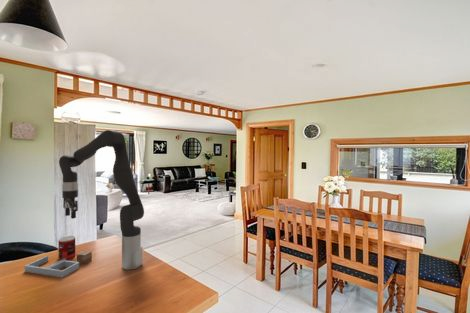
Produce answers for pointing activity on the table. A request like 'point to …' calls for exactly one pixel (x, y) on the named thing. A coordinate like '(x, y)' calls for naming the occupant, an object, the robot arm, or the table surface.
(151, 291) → the table surface
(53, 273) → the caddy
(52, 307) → the table surface
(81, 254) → the walnut cube
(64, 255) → the canned food
